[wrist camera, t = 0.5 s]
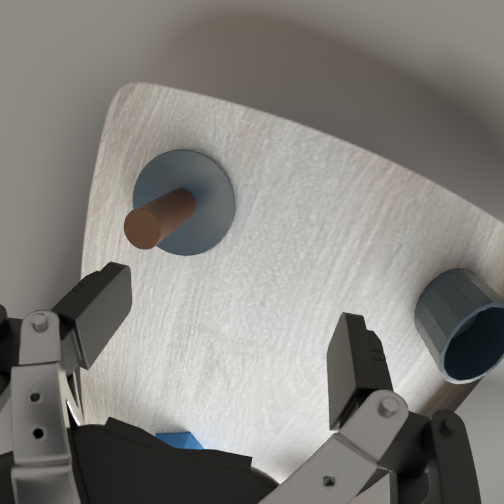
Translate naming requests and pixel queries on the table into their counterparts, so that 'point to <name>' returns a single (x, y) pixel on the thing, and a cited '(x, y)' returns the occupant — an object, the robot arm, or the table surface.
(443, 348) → the pot
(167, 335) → the table surface
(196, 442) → the perfume bottle
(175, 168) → the lid
